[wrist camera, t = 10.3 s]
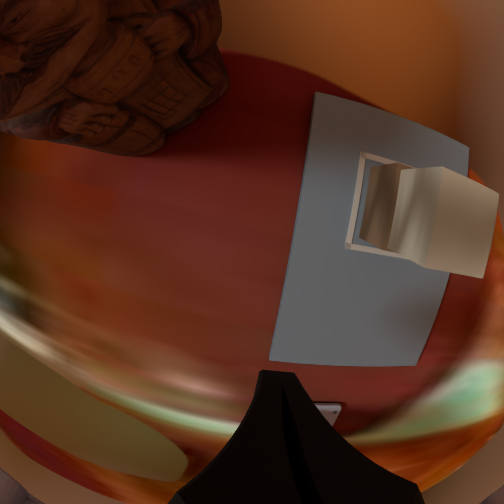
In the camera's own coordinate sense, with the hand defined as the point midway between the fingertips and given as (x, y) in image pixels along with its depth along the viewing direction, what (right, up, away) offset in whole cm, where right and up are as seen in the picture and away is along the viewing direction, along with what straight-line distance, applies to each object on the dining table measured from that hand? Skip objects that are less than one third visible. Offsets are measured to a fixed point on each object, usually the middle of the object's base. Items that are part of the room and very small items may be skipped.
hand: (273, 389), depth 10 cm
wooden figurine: (-8, +16, +7) cm, 19 cm away
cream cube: (+9, +7, +4) cm, 12 cm away
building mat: (+9, +6, +9) cm, 14 cm away
